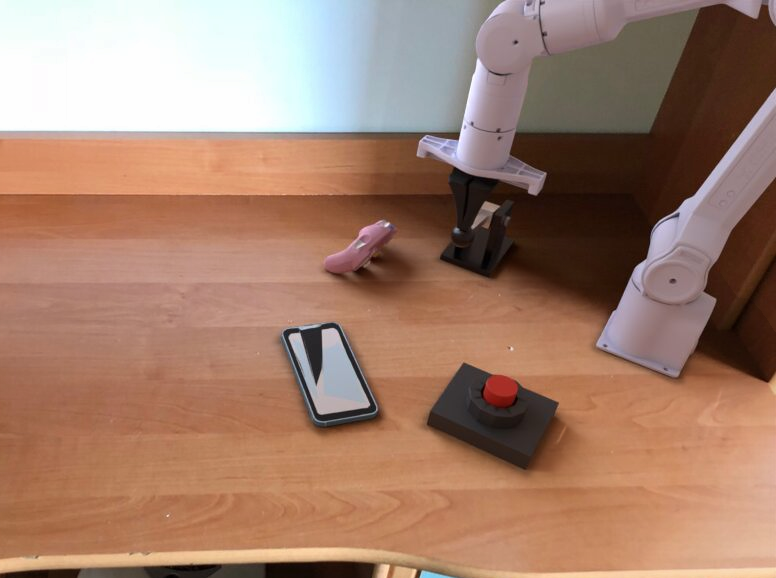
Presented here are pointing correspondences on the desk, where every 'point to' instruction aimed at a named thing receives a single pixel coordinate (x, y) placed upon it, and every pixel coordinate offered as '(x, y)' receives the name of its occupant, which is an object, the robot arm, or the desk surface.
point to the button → (500, 391)
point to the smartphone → (328, 374)
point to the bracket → (484, 246)
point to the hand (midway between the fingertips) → (464, 225)
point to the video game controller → (361, 248)
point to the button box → (492, 417)
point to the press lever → (475, 225)
